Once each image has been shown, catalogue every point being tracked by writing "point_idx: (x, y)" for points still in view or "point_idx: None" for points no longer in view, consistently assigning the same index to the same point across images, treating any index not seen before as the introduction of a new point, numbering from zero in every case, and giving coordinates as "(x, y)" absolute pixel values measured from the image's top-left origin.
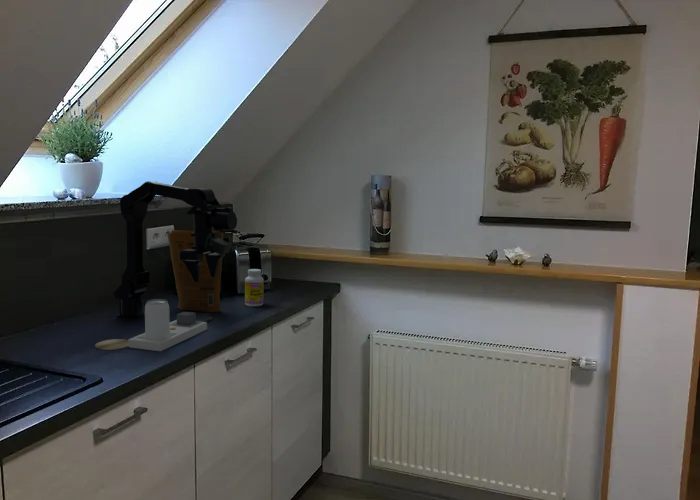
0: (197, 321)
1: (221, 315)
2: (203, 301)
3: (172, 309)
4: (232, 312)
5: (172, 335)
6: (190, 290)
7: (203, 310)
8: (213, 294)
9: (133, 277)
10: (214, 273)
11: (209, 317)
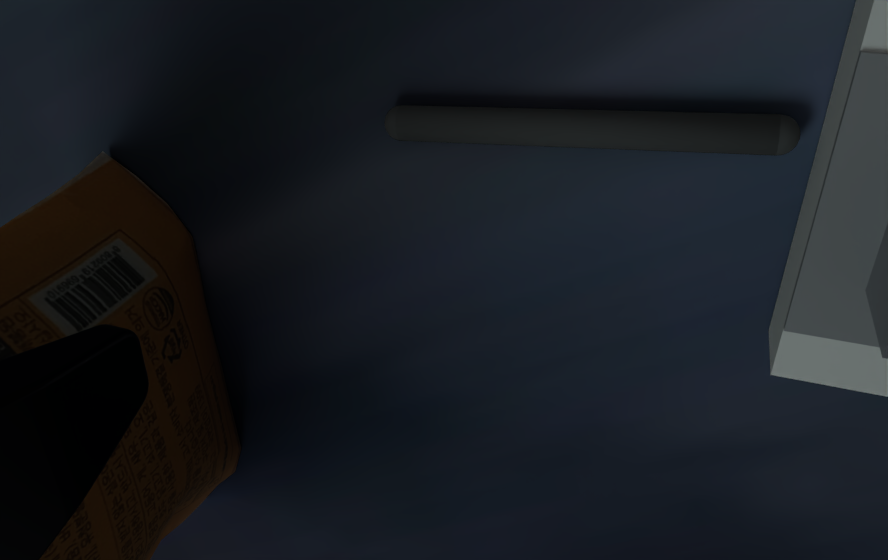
0: (879, 119)
1: (219, 85)
2: (152, 342)
3: (259, 517)
4: (72, 27)
5: None
6: (124, 525)
7: (199, 297)
8: (32, 295)
9: None
10: (64, 377)
11: (438, 128)
